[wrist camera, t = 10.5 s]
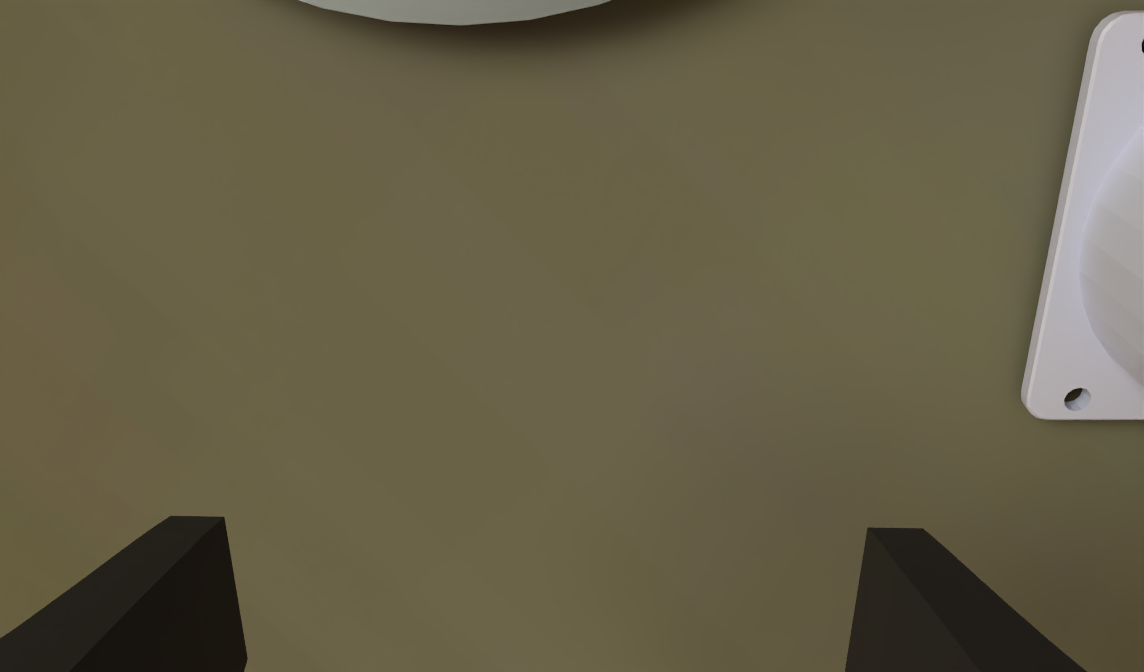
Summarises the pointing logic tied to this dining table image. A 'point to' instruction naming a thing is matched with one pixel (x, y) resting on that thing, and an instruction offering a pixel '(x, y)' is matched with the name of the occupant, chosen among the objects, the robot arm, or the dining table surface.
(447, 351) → the dining table surface
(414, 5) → the dish
